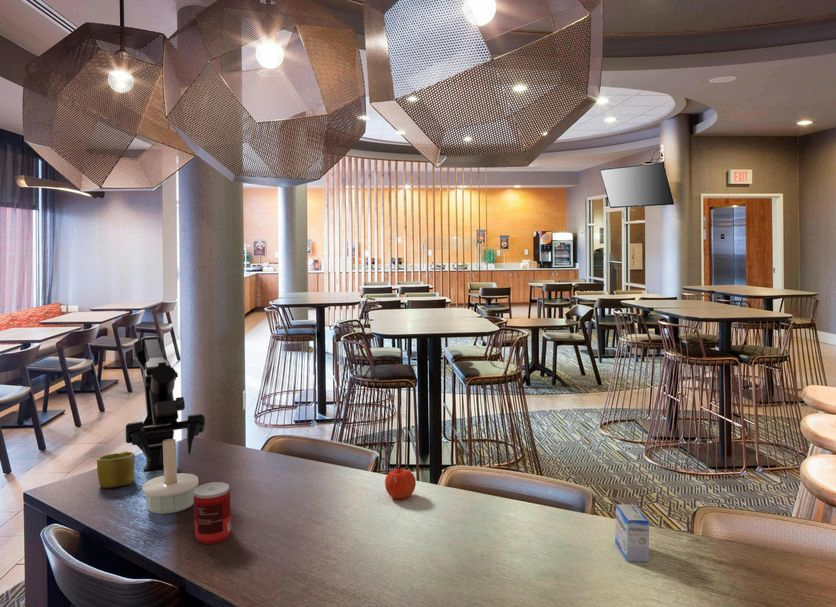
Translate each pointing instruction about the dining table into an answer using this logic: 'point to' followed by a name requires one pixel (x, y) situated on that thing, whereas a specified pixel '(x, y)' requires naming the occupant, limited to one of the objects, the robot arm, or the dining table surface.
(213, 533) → the canned food
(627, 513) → the medicine box
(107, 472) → the mug
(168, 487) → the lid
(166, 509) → the bowl
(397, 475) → the apple
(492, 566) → the dining table surface
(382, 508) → the dining table surface
